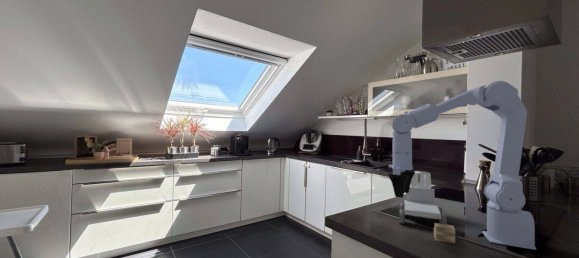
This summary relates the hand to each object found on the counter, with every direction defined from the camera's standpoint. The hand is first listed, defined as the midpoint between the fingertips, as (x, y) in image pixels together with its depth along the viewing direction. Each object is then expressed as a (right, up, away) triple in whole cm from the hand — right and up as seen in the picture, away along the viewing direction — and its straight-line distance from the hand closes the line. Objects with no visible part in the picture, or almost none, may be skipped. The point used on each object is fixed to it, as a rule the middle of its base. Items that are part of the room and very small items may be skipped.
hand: (402, 194), depth 78 cm
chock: (+7, -10, -9) cm, 16 cm away
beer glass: (+14, -11, +15) cm, 23 cm away
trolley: (+8, -10, +4) cm, 13 cm away
